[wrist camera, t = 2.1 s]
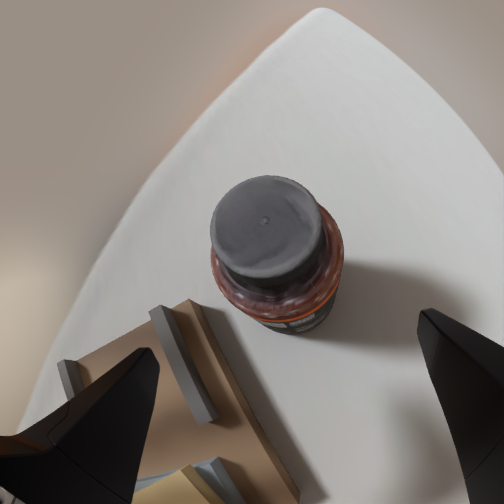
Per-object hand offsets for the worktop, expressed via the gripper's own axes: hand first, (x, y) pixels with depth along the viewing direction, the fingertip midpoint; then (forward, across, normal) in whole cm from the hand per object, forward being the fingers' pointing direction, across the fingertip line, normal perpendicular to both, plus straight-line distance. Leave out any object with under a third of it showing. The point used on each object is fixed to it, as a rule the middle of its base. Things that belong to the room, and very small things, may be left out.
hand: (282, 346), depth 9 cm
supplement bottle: (+11, 0, +5) cm, 12 cm away
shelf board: (+4, +10, +12) cm, 16 cm away
